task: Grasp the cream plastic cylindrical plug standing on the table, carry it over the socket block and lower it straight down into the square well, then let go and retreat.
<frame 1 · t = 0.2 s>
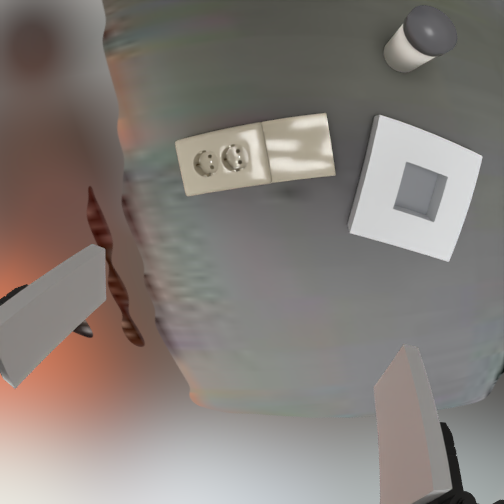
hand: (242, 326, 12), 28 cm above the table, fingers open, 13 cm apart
socket block: (412, 186, 33), on the table
electrical outlet: (257, 152, 36), on the table
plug: (400, 56, 27), on the table
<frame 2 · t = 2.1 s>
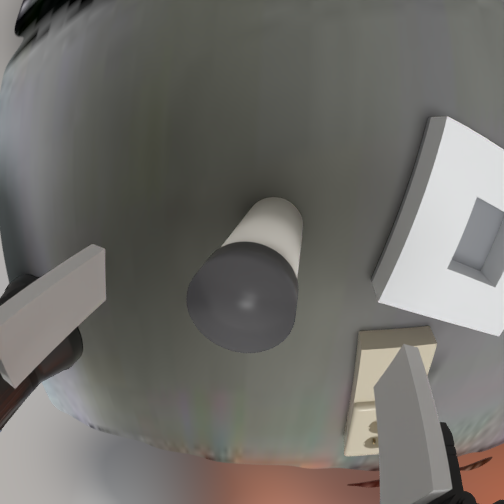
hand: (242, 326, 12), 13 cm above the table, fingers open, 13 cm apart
socket block: (469, 229, 20), on the table
electrical outlet: (381, 387, 29), on the table
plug: (274, 225, 24), on the table
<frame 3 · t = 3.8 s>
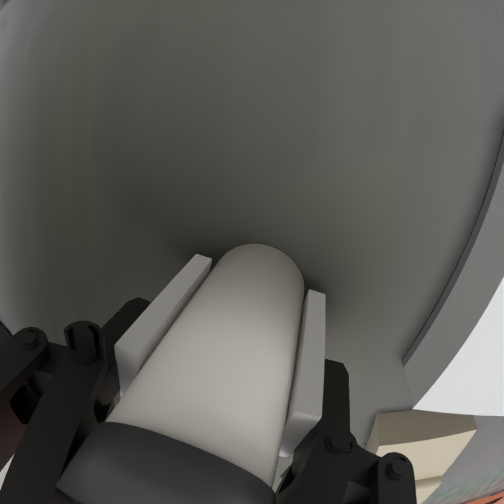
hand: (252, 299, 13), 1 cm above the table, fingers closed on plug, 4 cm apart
electrical outlet: (396, 459, 20), on the table
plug: (257, 287, 15), on the table, touching gripper
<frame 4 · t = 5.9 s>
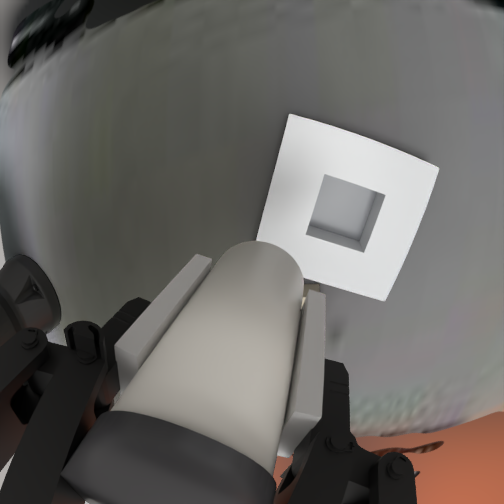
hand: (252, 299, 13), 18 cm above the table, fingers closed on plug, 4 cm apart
socket block: (341, 205, 29), on the table
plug: (258, 283, 15), point 16 cm above the table, touching gripper
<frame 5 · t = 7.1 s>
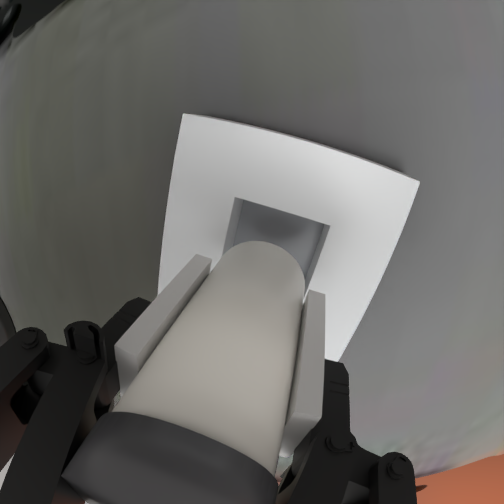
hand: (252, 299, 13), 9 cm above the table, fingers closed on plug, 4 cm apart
socket block: (277, 234, 21), on the table
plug: (259, 283, 15), point 7 cm above the table, touching gripper
when the fingers open (5 cm above the table, at t = 8.1 s): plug drops 3 cm, resting on socket block.
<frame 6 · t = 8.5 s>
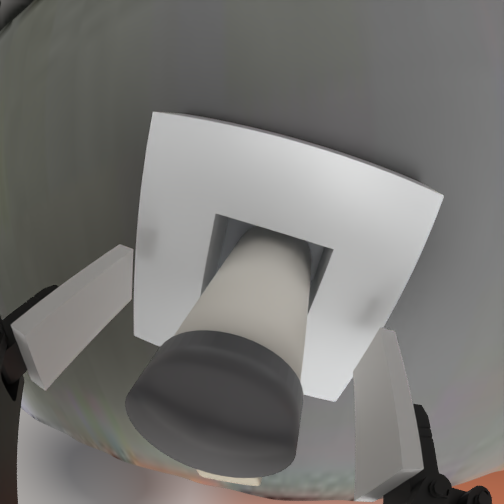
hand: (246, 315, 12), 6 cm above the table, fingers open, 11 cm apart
socket block: (270, 254, 18), on the table
electrical outlet: (224, 413, 26), on the table
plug: (272, 259, 18), point 1 cm above the table, touching socket block
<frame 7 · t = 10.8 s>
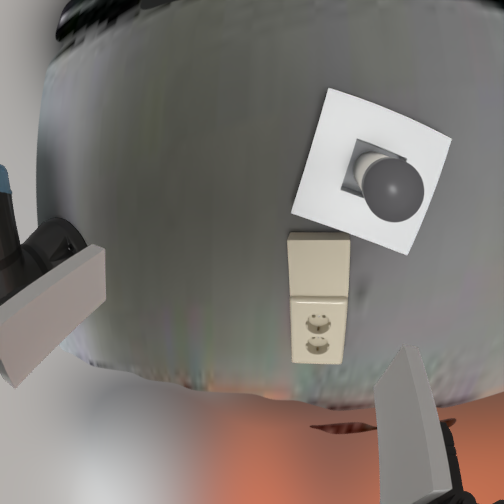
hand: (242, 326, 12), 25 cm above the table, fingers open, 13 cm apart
socket block: (369, 169, 31), on the table
electrical outlet: (319, 294, 40), on the table
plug: (372, 171, 31), point 1 cm above the table, touching socket block
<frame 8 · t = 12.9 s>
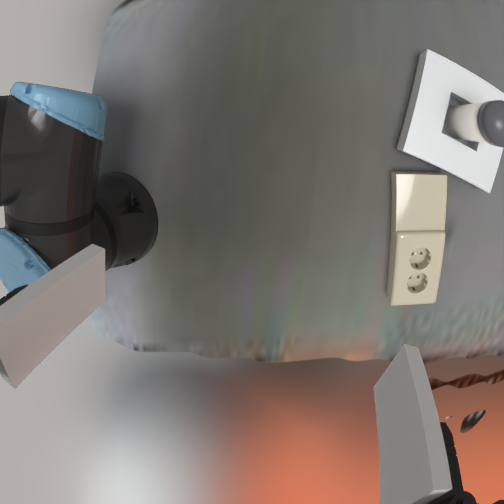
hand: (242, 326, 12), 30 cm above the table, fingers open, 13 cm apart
socket block: (453, 121, 30), on the table
electrical outlet: (412, 234, 38), on the table
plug: (456, 122, 29), point 1 cm above the table, touching socket block
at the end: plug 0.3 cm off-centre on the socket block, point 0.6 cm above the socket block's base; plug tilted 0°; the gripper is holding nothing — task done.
